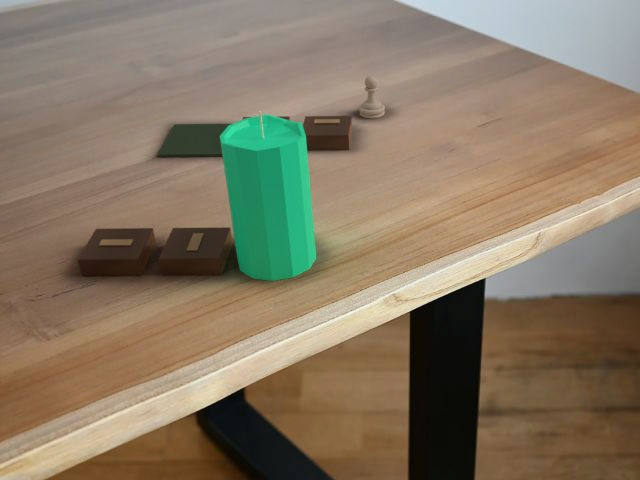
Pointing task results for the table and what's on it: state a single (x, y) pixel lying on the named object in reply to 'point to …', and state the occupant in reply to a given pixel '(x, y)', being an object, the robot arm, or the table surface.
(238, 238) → the candle
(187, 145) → the mat
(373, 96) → the pawn
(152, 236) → the front word
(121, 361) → the table surface
